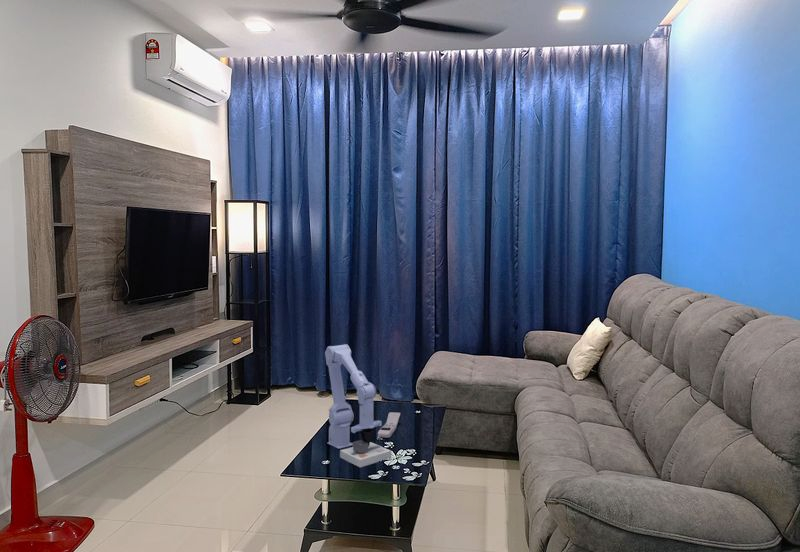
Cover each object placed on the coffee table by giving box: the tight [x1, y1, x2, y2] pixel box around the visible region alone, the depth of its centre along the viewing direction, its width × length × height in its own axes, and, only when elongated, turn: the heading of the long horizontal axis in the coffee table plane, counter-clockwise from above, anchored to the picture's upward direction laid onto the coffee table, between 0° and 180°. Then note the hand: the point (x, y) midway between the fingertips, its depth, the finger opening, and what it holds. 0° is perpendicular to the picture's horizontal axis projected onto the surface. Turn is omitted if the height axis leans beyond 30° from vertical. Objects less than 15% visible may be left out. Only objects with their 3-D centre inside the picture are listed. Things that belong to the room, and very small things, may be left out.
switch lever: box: [352, 439, 368, 454], centre depth 238 cm, size 4×5×4 cm
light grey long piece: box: [376, 412, 401, 440], centre depth 274 cm, size 6×6×25 cm
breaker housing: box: [339, 441, 392, 468], centre depth 240 cm, size 16×14×3 cm
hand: (366, 446), depth 240 cm, fingers closed
